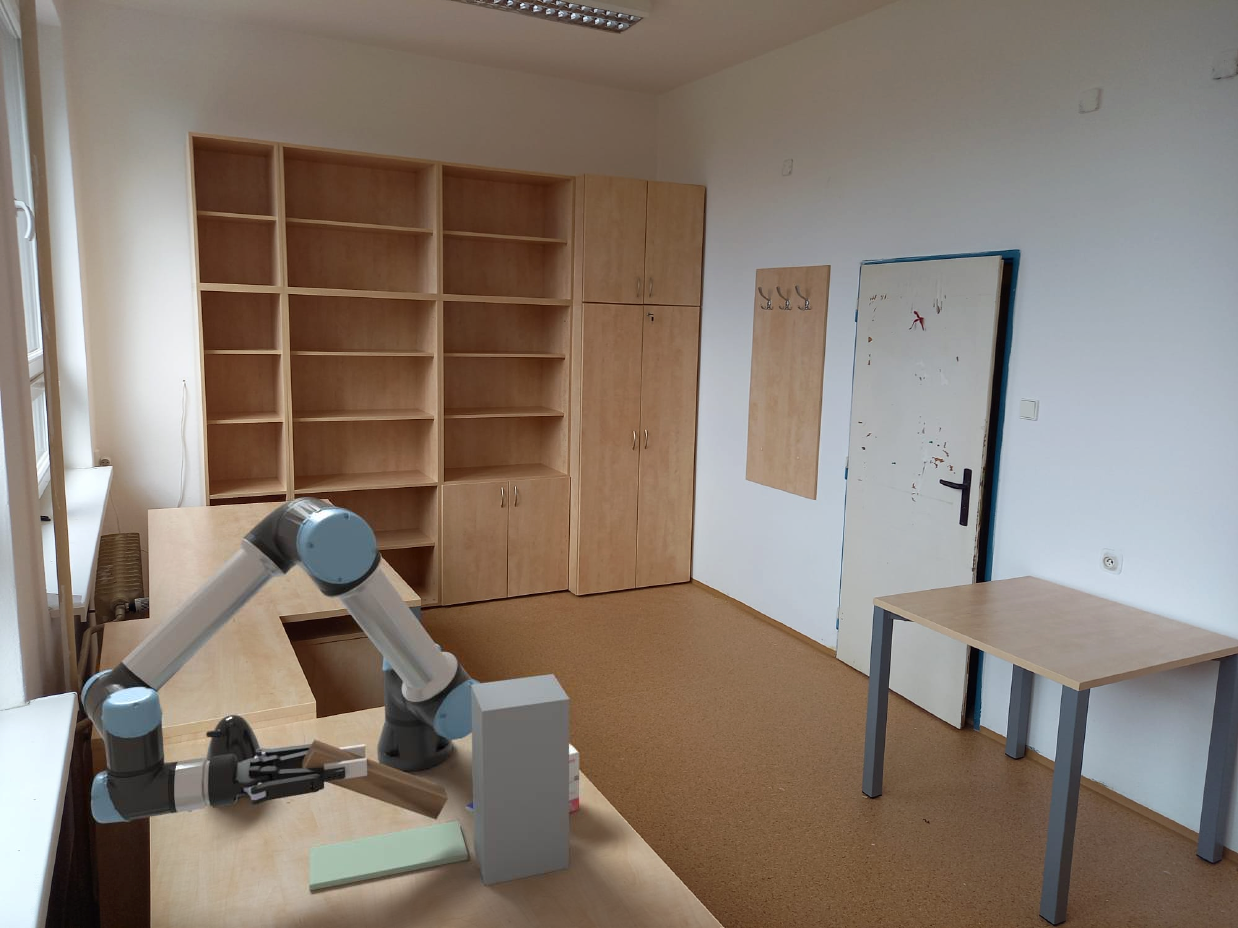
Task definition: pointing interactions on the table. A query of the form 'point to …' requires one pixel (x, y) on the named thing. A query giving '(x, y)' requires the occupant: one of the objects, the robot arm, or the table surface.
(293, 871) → the table surface
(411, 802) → the walnut bar
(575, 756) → the ink box
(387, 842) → the mat
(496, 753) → the stand
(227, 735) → the pump dispenser
